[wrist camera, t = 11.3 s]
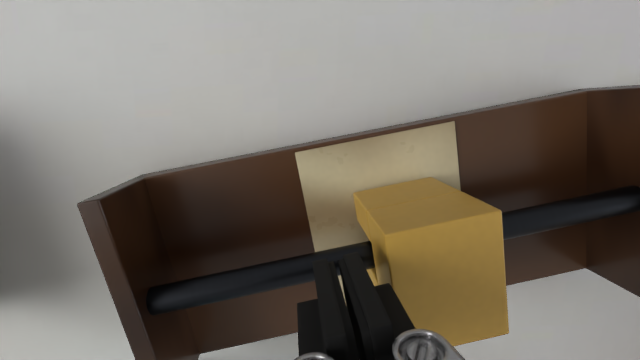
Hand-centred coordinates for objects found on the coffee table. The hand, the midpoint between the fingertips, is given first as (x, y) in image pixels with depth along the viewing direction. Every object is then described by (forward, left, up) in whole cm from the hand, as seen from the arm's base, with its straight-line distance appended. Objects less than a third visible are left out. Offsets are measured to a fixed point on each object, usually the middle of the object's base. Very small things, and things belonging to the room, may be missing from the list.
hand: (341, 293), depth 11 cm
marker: (0, +4, -5) cm, 6 cm away
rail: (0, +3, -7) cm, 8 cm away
